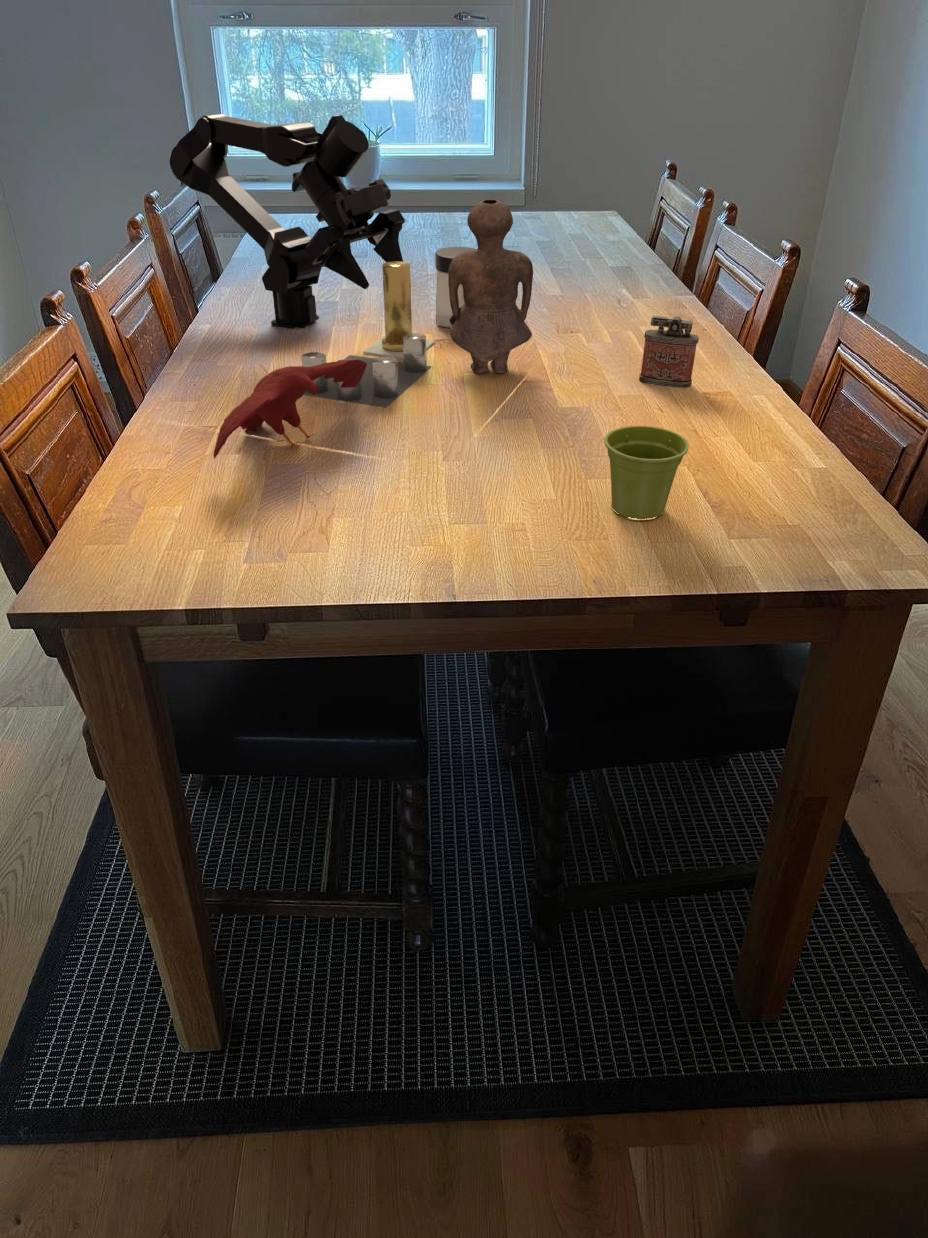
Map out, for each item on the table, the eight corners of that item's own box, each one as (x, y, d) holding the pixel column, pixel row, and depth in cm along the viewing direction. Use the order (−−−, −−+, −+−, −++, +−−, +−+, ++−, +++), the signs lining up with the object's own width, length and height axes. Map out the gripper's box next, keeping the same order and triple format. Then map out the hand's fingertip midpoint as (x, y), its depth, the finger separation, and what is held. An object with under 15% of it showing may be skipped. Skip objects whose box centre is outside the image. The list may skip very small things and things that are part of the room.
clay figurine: (527, 359, 149) (535, 193, 135) (532, 381, 141) (542, 207, 126) (447, 359, 149) (447, 192, 134) (448, 382, 141) (448, 207, 126)
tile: (363, 355, 150) (363, 351, 150) (385, 338, 157) (385, 334, 156) (413, 362, 147) (413, 358, 147) (434, 344, 154) (434, 341, 154)
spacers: (297, 393, 135) (294, 360, 133) (349, 354, 149) (347, 324, 146) (384, 406, 132) (383, 373, 129) (430, 366, 145) (429, 334, 142)
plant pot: (590, 492, 111) (597, 425, 106) (665, 489, 112) (676, 423, 107) (606, 530, 104) (614, 460, 99) (687, 527, 105) (699, 458, 100)
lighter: (692, 382, 142) (703, 317, 136) (689, 389, 139) (700, 323, 133) (640, 375, 144) (648, 311, 138) (636, 382, 141) (645, 317, 135)
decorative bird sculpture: (206, 509, 116) (256, 448, 105) (159, 451, 115) (204, 383, 104) (344, 431, 136) (398, 373, 125) (305, 381, 135) (355, 318, 124)
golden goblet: (382, 352, 149) (378, 270, 142) (381, 340, 154) (378, 260, 146) (416, 351, 150) (414, 269, 142) (415, 340, 154) (413, 259, 147)
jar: (449, 332, 160) (449, 260, 153) (425, 319, 165) (424, 250, 158) (491, 323, 164) (493, 253, 157) (466, 311, 169) (467, 243, 162)
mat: (297, 395, 136) (297, 393, 135) (349, 356, 149) (349, 354, 149) (386, 409, 132) (386, 407, 131) (431, 368, 145) (431, 366, 145)
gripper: (313, 170, 133) (374, 262, 135) (394, 154, 146) (449, 238, 147) (280, 219, 142) (337, 305, 143) (359, 200, 154) (411, 279, 155)
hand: (386, 280), depth 147 cm, fingers open, 9 cm apart
